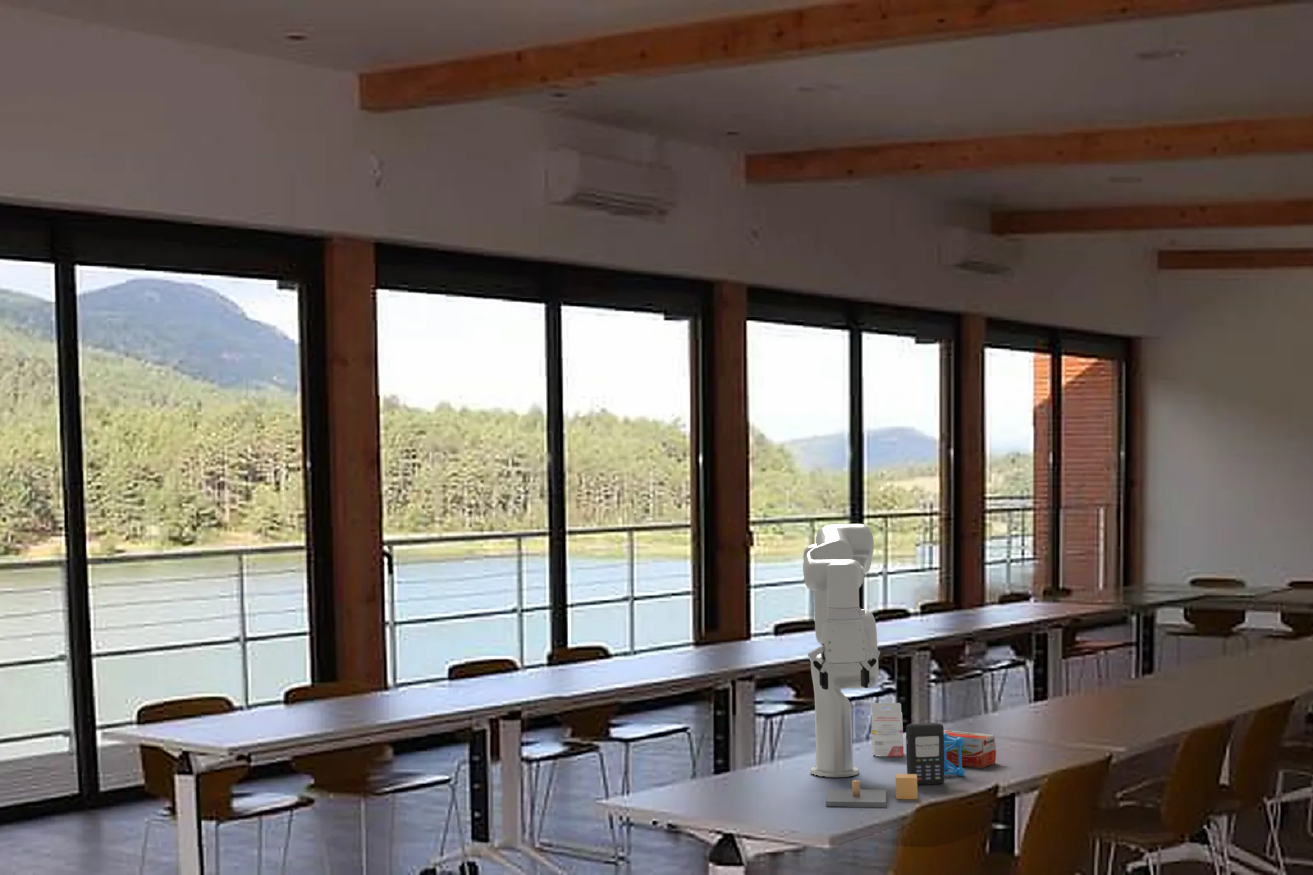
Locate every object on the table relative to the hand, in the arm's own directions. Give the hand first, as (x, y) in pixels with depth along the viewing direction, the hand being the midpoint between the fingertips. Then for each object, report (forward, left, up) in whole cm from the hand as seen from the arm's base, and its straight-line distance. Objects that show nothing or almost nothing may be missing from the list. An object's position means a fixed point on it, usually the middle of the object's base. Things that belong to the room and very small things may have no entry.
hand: (844, 688), depth 359 cm
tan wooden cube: (-14, +14, -28) cm, 34 cm away
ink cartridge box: (-69, +10, -28) cm, 75 cm away
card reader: (-30, +19, -28) cm, 45 cm away
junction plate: (-9, +2, -28) cm, 29 cm away
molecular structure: (-42, +23, -28) cm, 55 cm away
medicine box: (-58, +30, -28) cm, 71 cm away
